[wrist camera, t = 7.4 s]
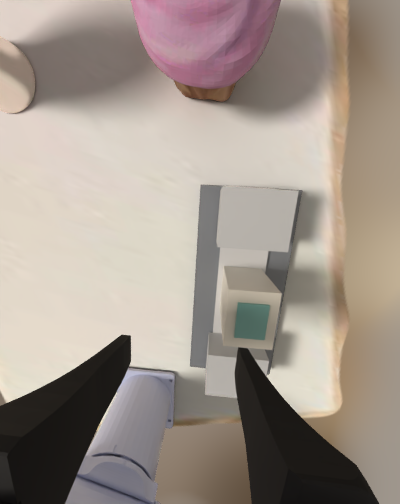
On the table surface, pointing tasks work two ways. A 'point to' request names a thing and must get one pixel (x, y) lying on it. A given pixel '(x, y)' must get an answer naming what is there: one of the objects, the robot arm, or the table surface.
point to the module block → (248, 308)
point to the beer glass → (15, 79)
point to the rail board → (237, 255)
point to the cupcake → (205, 40)
